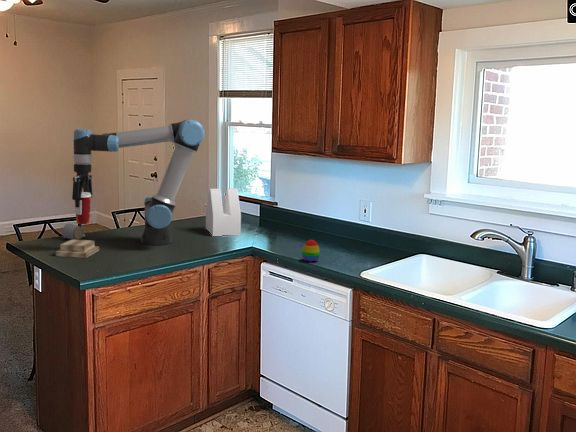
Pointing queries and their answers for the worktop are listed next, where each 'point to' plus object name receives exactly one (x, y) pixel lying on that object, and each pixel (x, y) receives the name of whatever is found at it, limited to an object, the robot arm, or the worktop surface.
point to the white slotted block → (223, 213)
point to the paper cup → (84, 209)
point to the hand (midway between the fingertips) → (82, 212)
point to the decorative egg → (311, 251)
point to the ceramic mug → (72, 232)
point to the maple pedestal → (77, 248)
